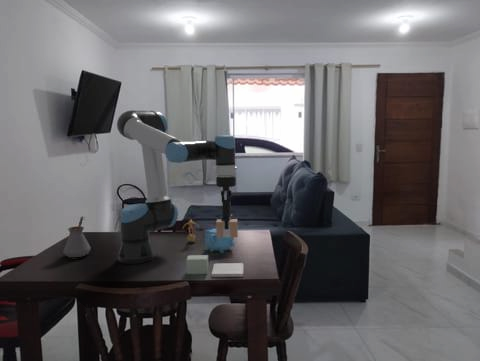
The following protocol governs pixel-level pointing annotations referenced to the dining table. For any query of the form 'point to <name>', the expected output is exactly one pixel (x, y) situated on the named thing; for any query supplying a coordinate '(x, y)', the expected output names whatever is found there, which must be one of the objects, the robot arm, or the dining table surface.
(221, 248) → the teapot
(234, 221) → the terracotta brick
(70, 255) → the coffee pot
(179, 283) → the dining table surface
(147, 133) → the robot arm
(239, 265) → the base plate
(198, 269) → the sage brick
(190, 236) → the figurine
